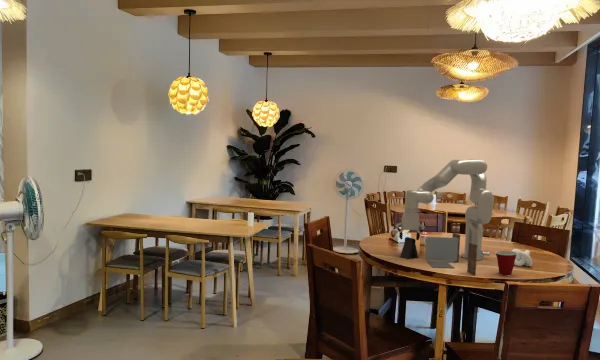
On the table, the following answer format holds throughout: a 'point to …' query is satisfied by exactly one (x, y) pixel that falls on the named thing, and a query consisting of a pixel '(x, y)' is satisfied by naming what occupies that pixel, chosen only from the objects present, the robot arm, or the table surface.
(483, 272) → the table surface
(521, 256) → the white knot sculpture
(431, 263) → the mat
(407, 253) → the black a-shaped stand
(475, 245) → the frame
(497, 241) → the table surface
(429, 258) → the grey flat panel
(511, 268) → the plastic cup
